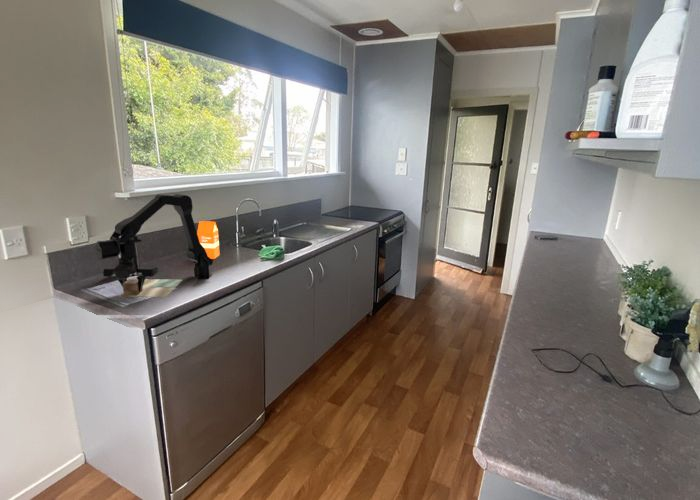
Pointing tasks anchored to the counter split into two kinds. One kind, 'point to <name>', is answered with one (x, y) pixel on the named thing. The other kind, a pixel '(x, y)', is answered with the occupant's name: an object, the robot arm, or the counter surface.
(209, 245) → the orange juice
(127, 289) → the walnut block
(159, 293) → the birch board
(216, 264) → the counter surface
